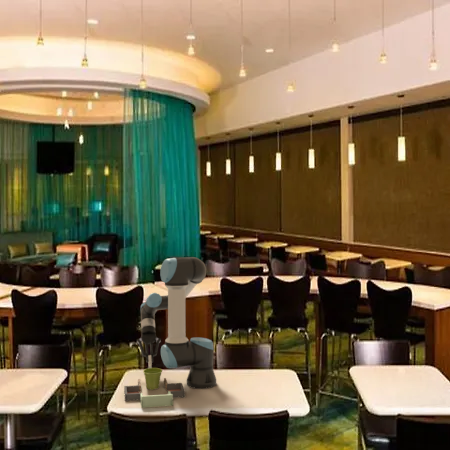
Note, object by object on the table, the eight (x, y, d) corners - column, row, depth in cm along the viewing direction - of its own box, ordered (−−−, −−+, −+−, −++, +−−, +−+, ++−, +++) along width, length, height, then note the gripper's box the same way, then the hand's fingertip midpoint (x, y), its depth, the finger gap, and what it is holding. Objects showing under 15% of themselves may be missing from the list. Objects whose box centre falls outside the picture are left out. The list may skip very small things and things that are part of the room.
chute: (137, 385, 281) (137, 379, 281) (165, 383, 284) (165, 378, 284) (138, 392, 271) (139, 385, 271) (167, 390, 274) (167, 384, 274)
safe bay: (140, 399, 262) (140, 388, 261) (170, 397, 264) (170, 386, 264) (141, 407, 251) (141, 396, 251) (172, 405, 254) (172, 394, 253)
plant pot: (158, 391, 272) (158, 374, 272) (140, 390, 274) (140, 372, 274) (164, 385, 281) (164, 368, 281) (146, 384, 283) (146, 367, 283)
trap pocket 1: (124, 392, 271) (124, 386, 271) (139, 391, 272) (139, 385, 272) (124, 400, 259) (125, 394, 259) (141, 399, 261) (141, 393, 261)
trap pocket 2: (166, 389, 275) (166, 383, 275) (181, 388, 277) (181, 382, 276) (169, 398, 263) (169, 391, 263) (185, 397, 265) (185, 390, 265)
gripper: (159, 331, 310) (162, 370, 294) (136, 332, 307) (137, 371, 291) (160, 324, 304) (163, 363, 288) (136, 325, 302) (137, 364, 286)
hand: (150, 367), depth 290 cm, fingers closed
